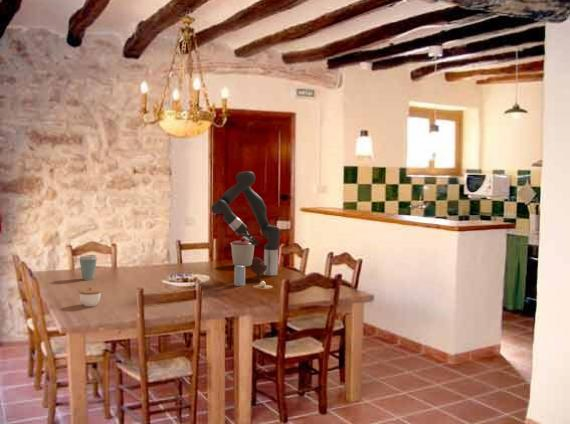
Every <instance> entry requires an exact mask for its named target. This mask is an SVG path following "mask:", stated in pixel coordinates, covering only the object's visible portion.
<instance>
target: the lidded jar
mask: <svg viewBox="0 0 570 424" xmlns="http://www.w3.org/2000/svg"><path fill="white" fill-rule="evenodd" d="M78 292H79V296H78V297H79V300H80V303H81V304H82V305H83V306H84V307H95V306H97V304H98V303H99V302H100V300H101V296H102V295H101V294H102V289H100V288H93V287H91V286H89V287H87V288H82V289H80V290H79V291H78Z"/></svg>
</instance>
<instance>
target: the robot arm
mask: <svg viewBox="0 0 570 424" xmlns="http://www.w3.org/2000/svg"><path fill="white" fill-rule="evenodd" d="M235 177H236V184H235V185H233V186H231V187H229V188H228V189H227V190H225V192H224V193H223V194H222V195H221V197H220V198H218V199H217V200H216V201H215V202H214V203H213V204H212V206H211V212H212V213H213V214H215V215H219V214H221V213H222V215H223V217H222V219H223V221H224V222H225V223H226V224H228V226H229V227H230V228H231V229H232V231H233V232H235V234H237V235H238V236H240V235H241V236H242V237H244V238H245V241H249V242H250V243H251V244H252V245H254V246H256V247H257V246H259V241H257V239H256V238H255V236H254V235H252V233H251V232H250V231H247V229H248V226H247V225H246V224H245V223H244V222H243V221H242V220H241V219H240V218H239V217H238V216H237V215H236V214H235V213H234V212H233V211H232V209H231V207H230V206H229V205H230V204H231V203H232V202H234V200H235V199H236V198H237V197H238V196H239V195H240V194H241V193H243V194H244V197H245V199H246V201H247V202H248V205H249V207H250V209H251V211H252V213H253V215H254V218H255V219H256V220H257V223H258V226H259V229H260V232H261V234H262V236H263V238H265V239H267V240H268V241H267V243H266V244H264V247H263V249H264V251H263V261H264V265H267V269H266V271H265V272H263V275H264V276H270V277H271V276H278V265H279V263H278V261H279V260H278V259H279V258H278V257H279V254H278V253H279V246H280V238H281V231H280V228H279V227H278V225H277V226H276V225H271V224H270V222H269V220H268V218H267V206H266V204H265V202H264V199H263V198H262V197H261V196H260V195H259V194H258V193H257V192H255V191H254V189H252V187H251V186H252V185H254V183H255V181H256V175H255V173H254V172H253V171H250V170H249V171H239V172H238V173H237V174H236V176H235Z"/></svg>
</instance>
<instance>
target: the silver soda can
mask: <svg viewBox="0 0 570 424" xmlns="http://www.w3.org/2000/svg"><path fill="white" fill-rule="evenodd" d="M233 270H234V273H233V274H234V276H233V280H234V282H233V285H234V286H237V287H243V286H246V267H245V266H243V265H237V266H235V265H234V269H233Z"/></svg>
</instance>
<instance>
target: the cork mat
mask: <svg viewBox="0 0 570 424" xmlns="http://www.w3.org/2000/svg"><path fill="white" fill-rule="evenodd" d="M252 287H253V288H254V289H260V290H269V289H272V288H273V285H270V284H269V285H268V284H266V285H265V286H264V287H262V286H261V285H260V284H255V285H253V286H252Z"/></svg>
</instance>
